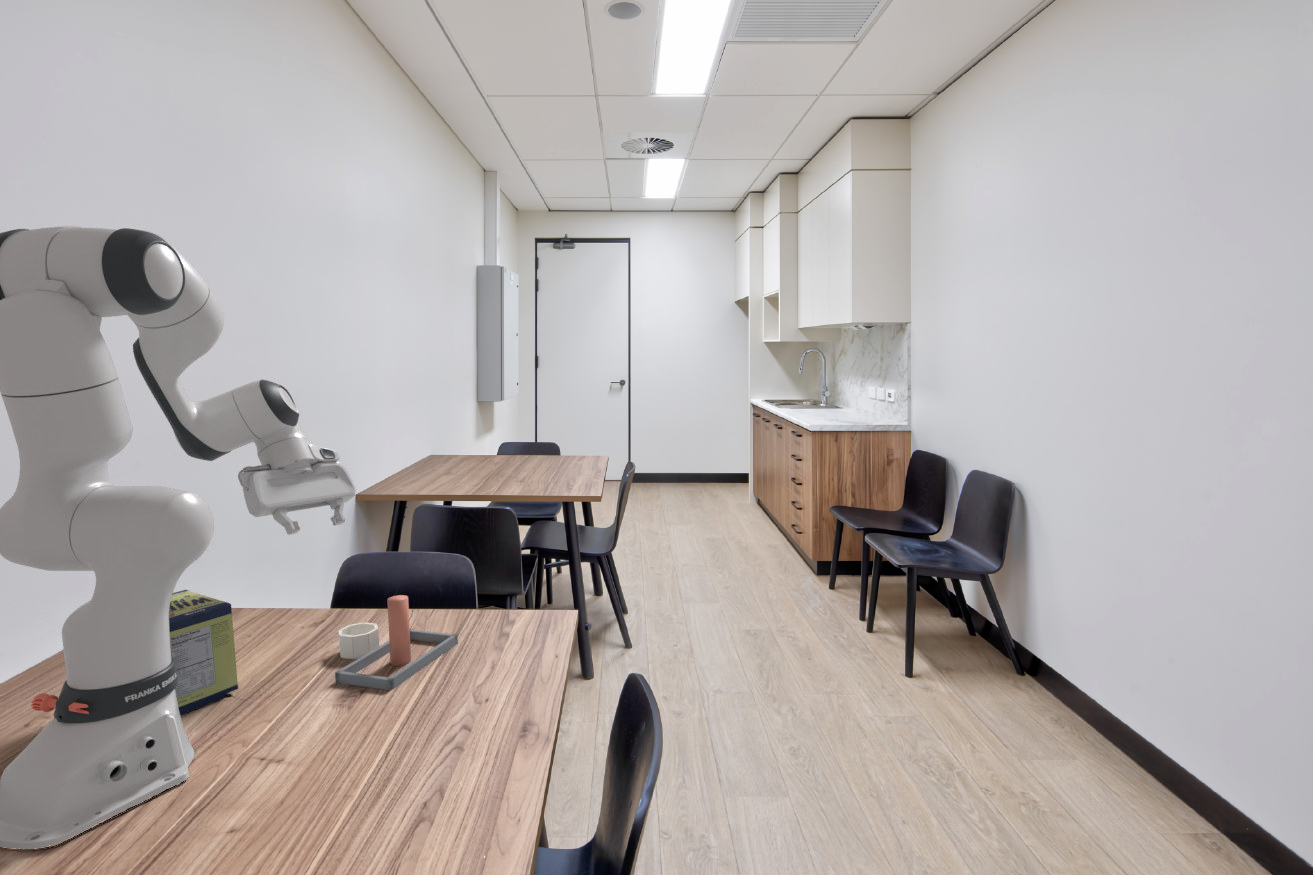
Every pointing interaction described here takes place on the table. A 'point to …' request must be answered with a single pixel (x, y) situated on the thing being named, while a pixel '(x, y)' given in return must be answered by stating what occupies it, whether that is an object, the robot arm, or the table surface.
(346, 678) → the tray
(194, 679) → the protein box
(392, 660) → the sausage
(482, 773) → the table surface
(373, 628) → the cup
